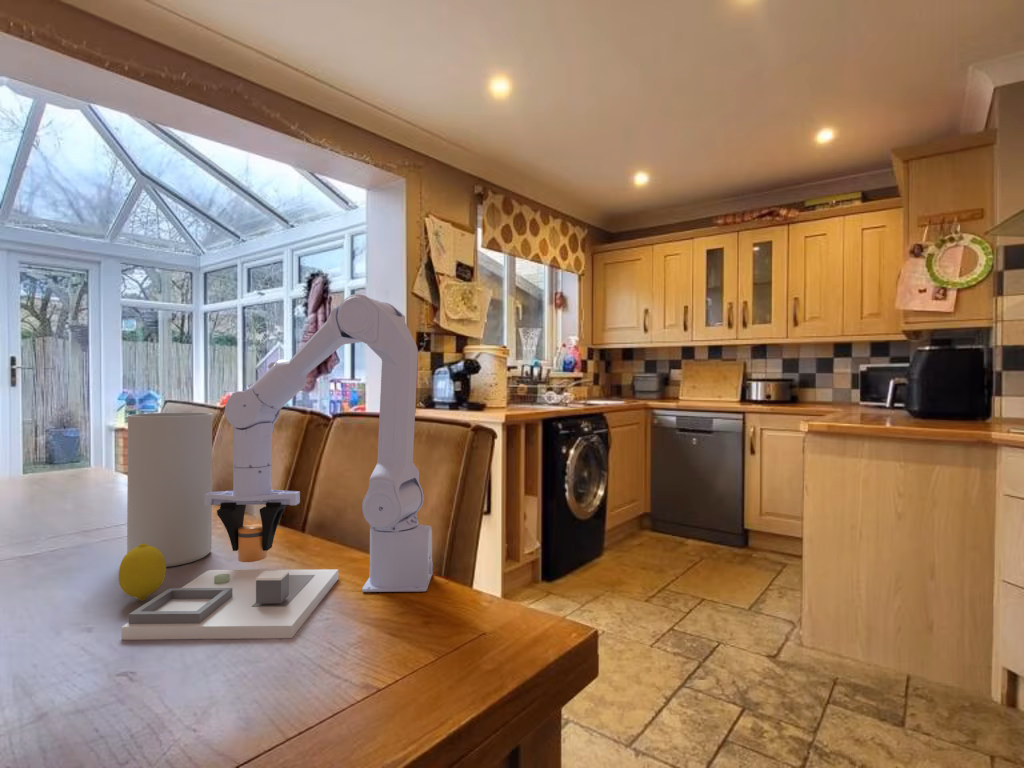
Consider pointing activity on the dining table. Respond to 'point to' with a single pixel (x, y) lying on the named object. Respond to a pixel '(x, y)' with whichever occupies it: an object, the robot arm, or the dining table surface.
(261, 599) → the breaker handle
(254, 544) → the cap
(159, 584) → the lemon
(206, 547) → the cylinder vase
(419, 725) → the dining table surface
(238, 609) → the board
